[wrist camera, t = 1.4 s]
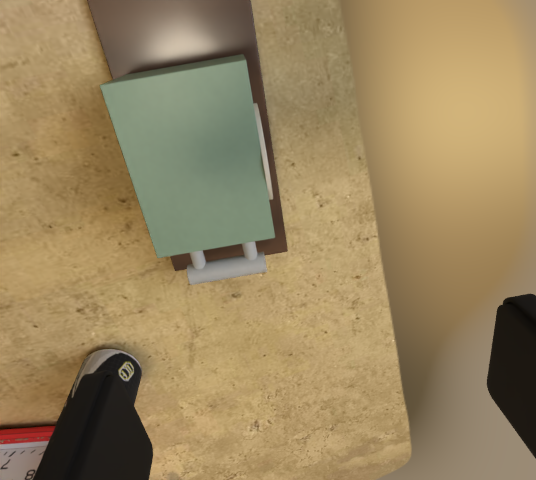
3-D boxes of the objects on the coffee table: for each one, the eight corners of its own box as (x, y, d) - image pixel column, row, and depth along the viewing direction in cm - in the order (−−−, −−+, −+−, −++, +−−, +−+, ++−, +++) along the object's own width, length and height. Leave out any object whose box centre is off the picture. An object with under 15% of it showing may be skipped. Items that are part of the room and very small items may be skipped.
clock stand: (79, -29, 24) (77, -30, 24) (241, -58, 24) (241, -59, 24) (175, 268, 35) (174, 271, 34) (287, 248, 35) (287, 251, 34)
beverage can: (80, 343, 38) (23, 465, 28) (141, 343, 39) (108, 463, 28) (88, 384, 41) (39, 510, 30) (145, 384, 41) (116, 506, 31)
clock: (98, 85, 21) (174, 310, 28) (251, 58, 21) (288, 291, 28) (126, 74, 27) (183, 264, 34) (247, 53, 27) (279, 247, 34)
